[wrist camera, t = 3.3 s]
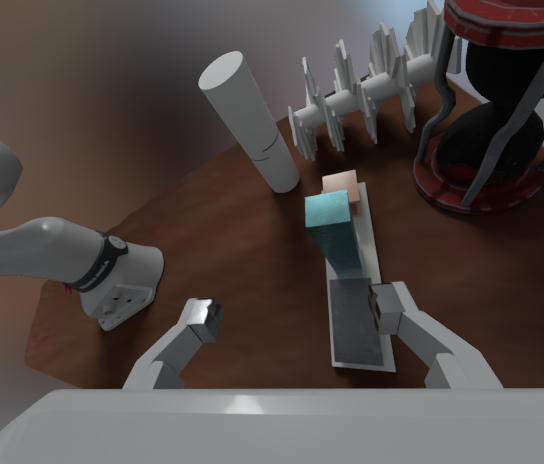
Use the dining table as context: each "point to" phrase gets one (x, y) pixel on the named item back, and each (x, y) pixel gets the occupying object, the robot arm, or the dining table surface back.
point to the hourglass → (488, 110)
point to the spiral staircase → (374, 81)
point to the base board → (370, 271)
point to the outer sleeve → (354, 323)
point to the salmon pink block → (344, 188)
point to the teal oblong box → (335, 232)
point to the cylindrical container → (249, 119)
